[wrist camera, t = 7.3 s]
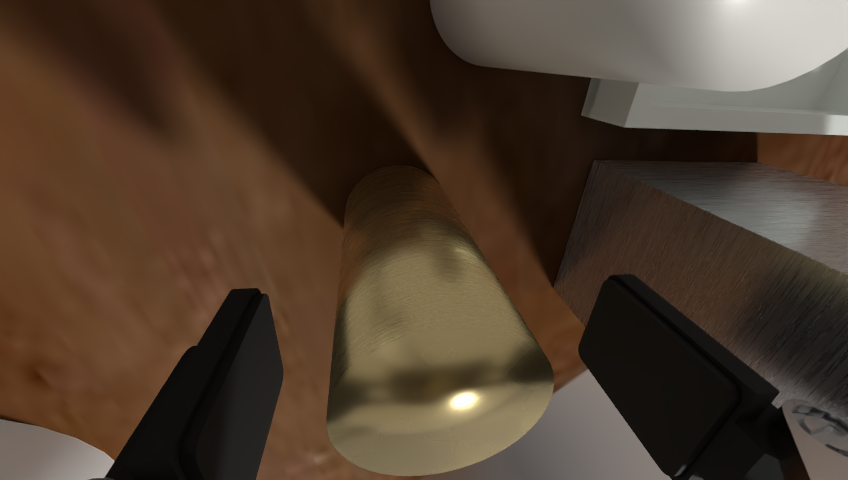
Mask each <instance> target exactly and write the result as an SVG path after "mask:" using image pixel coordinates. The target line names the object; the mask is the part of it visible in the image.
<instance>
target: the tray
mask: <svg viewBox="0 0 848 480" xmlns="http://www.w3.org/2000/svg"><path fill="white" fill-rule="evenodd" d="M581 116H585V117H588V118H592V119H595V120H599V121H603V122H606V123H610V124H613V125H617V126H621V127H627V128H655V129H684V130H713V131H741V132H770V133H799V134H827V135H848V48H847V49H846V50H844V51H843V52H841V53H840V54H838V55H837V56H836V57H834V58H832V59H830V60H829V61H827V62H825V63H823V64H822V65H820V66H818V67H817V68H815V69H813V70H811V71H809V72H807V73H805V74H802V75H800V76H798V77H796V78H794V79H791V80H789V81H786V82H783V83H780V84H777V85H774V86H770V87H767V88H762V89H756V90H751V91H732V92H726V91H716V90H707V89H697V88H687V87H678V86H668V85H658V84H648V83H639V82H629V81H619V80H609V79H600V78H591V81H590V85H589V88H588V92H587V95H586V99H585V103H584V106H583V110H582V113H581Z"/></svg>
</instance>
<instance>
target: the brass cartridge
mask: <svg viewBox="0 0 848 480" xmlns="http://www.w3.org/2000/svg"><path fill="white" fill-rule="evenodd" d="M553 387H554V375H553V370H552V367H551V364H550V362H549V361H548V359H547V357H546V356H545V354H544V352H543V351H542V349H541V347H540V346H539V344H538V343H537V341H536V339H535V338H534V336H533V334H532V333H531V331H530V330H529V328H528V326H527V325H526V323H525V322H524V320H523V318H522V317H521V315H520V313H519V312H518V310H517V309H516V307H515V305H514V304H513V302H512V300H511V299H510V297H509V296H508V294H507V292H506V291H505V289H504V288H503V286H502V284H501V283H500V281H499V279H498V278H497V276H496V275H495V273H494V271H493V270H492V268H491V266H490V265H489V263H488V262H487V260H486V258H485V257H484V255H483V254H482V252H481V250H480V249H479V247H478V245H477V244H476V242H475V241H474V239H473V237H472V236H471V234H470V233H469V231H468V229H467V228H466V226H465V224H464V223H463V221H462V220H461V218H460V216H459V215H458V213H457V211H456V210H455V208H454V207H453V205H452V203H451V202H450V200H449V199H448V197H447V195H446V194H445V192H444V190H443V189H442V187H441V186H440V184H439V183H438V182H437V181H436V180H435V179H434V178H433V177H432V176H431V175H429V174H428V173H427V172H425V171H423V170H421V169H418V168H416V167H412V166H407V165H390V166H385V167H382V168H378V169H376V170H374V171H372V172H370V173H369V174H367V175H366V176H364V177H363V178H362V179H361V180H360V181H359V182H358V183H357V184H356V185H355V186H354V188H353V189H352V191H351V193H350V195H349V197H348V200H347V203H346V209H345V219H344V230H343V241H342V253H341V264H340V275H339V286H338V297H337V308H336V319H335V330H334V341H333V352H332V363H331V374H330V385H329V396H328V407H327V418H326V420H327V431H328V435H329V438H330V440H331V442H332V444H333V446H334V447H335V448H336V450H337V451H338V452H339V453H340V454H341V455H342V456H343V457H345V458H346V459H347V460H349V461H350V462H352V463H354V464H355V465H357V466H360V467H362V468H364V469H367V470H370V471H374V472H377V473H383V474H388V475H398V476H418V475H430V474H437V473H442V472H447V471H451V470H455V469H459V468H462V467H466V466H469V465H472V464H474V463H477V462H479V461H482V460H484V459H486V458H488V457H490V456H492V455H494V454H496V453H498V452H500V451H502V450H503V449H505V448H507V447H508V446H509V445H511V444H513V443H514V442H515V441H517V440H518V439H519V438H521V437H522V436H523V435H524V434H525V433H526V432H527V431H529V430H530V429H531V428H532V427H533V426H534V425H535V423H536V422H537V421H538V420H539V418H540V417H541V416H542V414H543V413H544V411H545V410H546V408H547V406H548V404H549V402H550V399H551V396H552V393H553Z"/></svg>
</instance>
